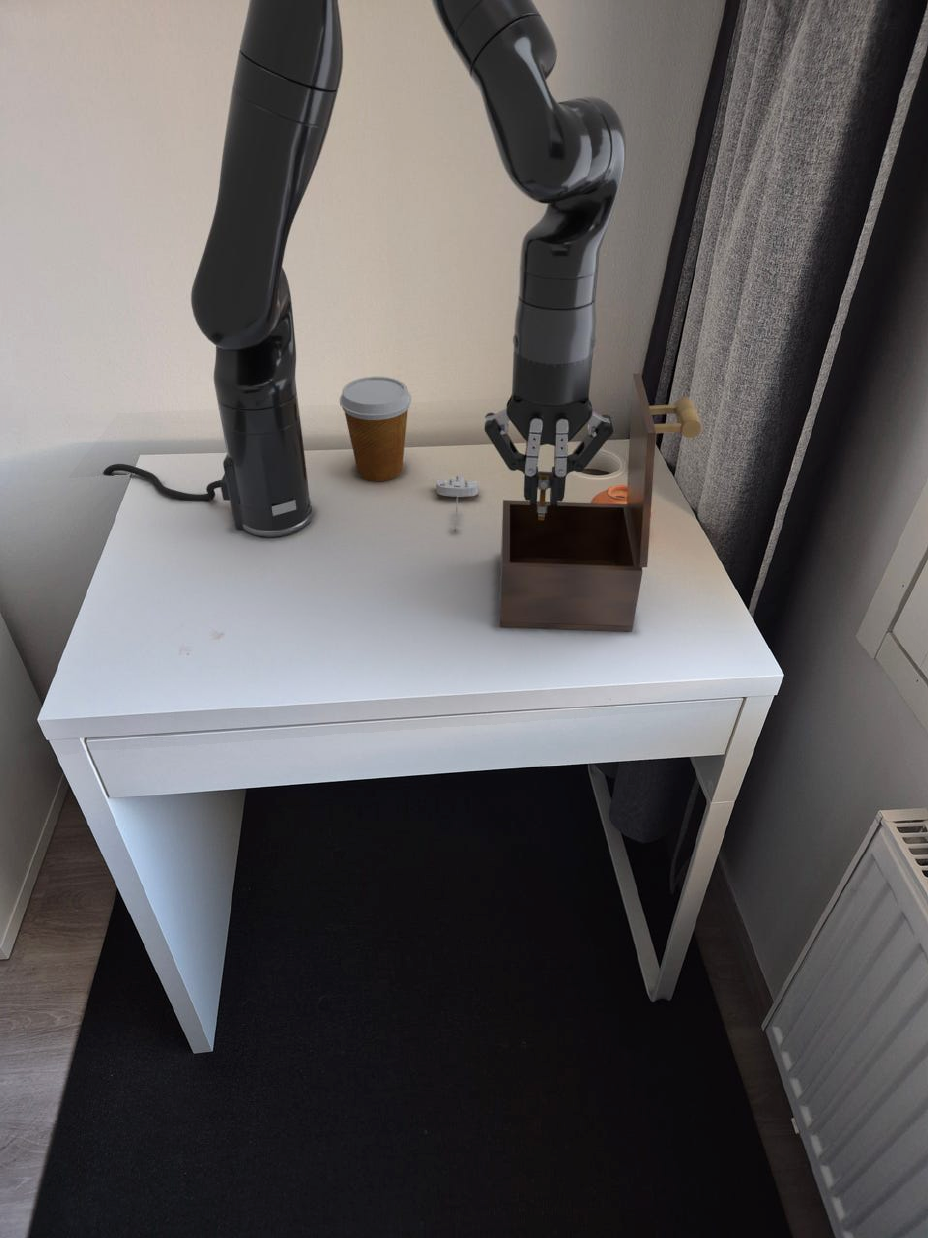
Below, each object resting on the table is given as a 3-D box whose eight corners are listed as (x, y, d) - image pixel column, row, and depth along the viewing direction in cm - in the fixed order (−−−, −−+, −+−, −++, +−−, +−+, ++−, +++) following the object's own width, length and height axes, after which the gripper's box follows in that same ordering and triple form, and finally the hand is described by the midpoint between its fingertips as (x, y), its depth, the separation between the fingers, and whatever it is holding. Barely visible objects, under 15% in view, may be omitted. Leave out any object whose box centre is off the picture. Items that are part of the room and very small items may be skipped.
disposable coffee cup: (337, 461, 124) (329, 381, 116) (400, 448, 127) (396, 370, 119) (358, 493, 117) (351, 411, 109) (423, 479, 120) (421, 398, 112)
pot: (606, 556, 106) (605, 503, 103) (579, 535, 112) (577, 485, 109) (664, 542, 108) (665, 490, 104) (634, 523, 114) (633, 474, 111)
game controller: (472, 481, 120) (473, 464, 118) (497, 526, 111) (498, 509, 110) (432, 486, 118) (432, 469, 117) (454, 532, 110) (454, 515, 108)
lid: (647, 432, 80) (711, 429, 79) (632, 373, 90) (689, 370, 90) (639, 567, 90) (696, 565, 89) (626, 500, 100) (677, 498, 99)
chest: (499, 627, 96) (502, 566, 90) (500, 558, 106) (503, 499, 100) (632, 631, 95) (642, 570, 90) (620, 562, 105) (629, 503, 100)
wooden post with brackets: (532, 521, 88) (534, 476, 87) (533, 510, 96) (536, 469, 95) (550, 522, 88) (552, 477, 87) (550, 511, 96) (552, 469, 95)
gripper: (622, 330, 84) (604, 485, 95) (482, 328, 85) (480, 482, 96) (630, 362, 79) (610, 523, 90) (480, 359, 79) (478, 519, 90)
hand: (542, 501), depth 93 cm, fingers closed on wooden post with brackets, 1 cm apart
